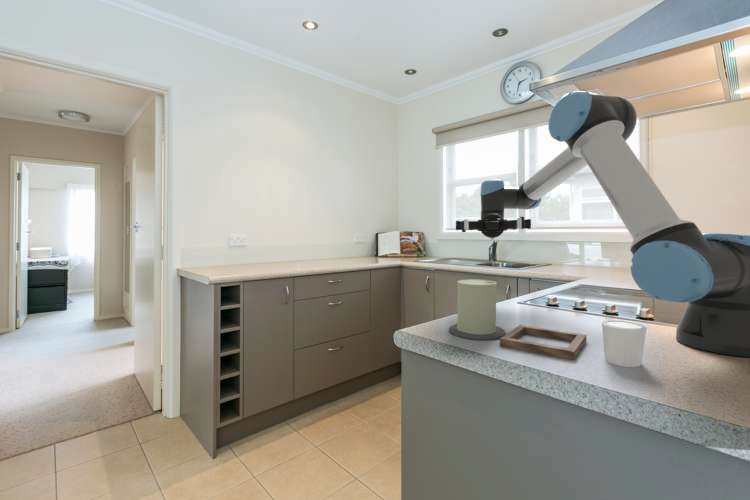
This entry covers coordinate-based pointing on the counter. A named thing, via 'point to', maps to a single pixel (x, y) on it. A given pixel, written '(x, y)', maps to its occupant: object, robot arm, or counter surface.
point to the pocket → (568, 353)
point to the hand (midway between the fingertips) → (492, 223)
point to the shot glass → (623, 342)
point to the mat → (494, 336)
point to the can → (476, 306)
